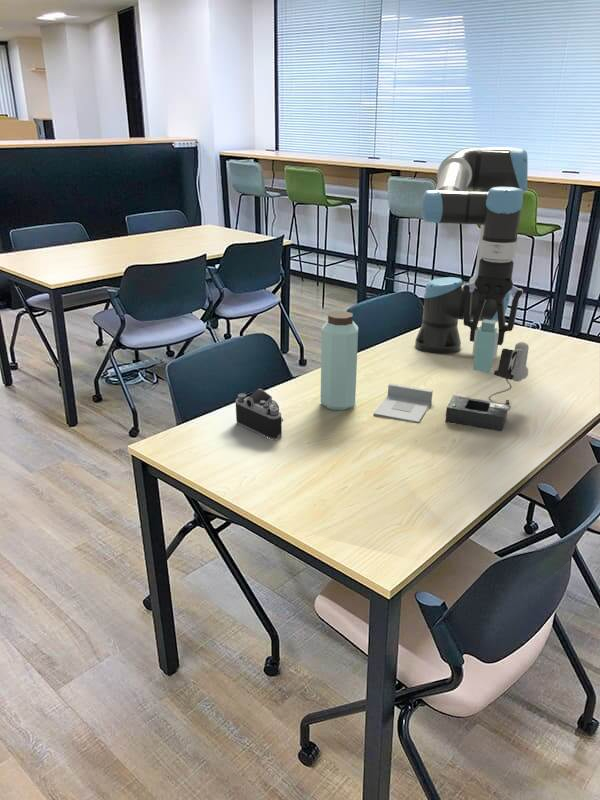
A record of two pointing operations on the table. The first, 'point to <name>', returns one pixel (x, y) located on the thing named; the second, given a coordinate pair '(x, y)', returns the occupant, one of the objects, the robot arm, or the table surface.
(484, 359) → the plug
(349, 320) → the water bottle
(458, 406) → the port
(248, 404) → the camera
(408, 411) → the grey lipped plate
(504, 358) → the clip-on lamp
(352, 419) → the table surface
